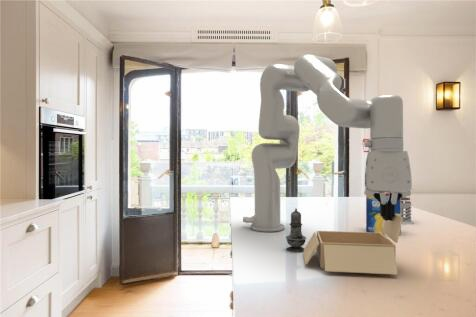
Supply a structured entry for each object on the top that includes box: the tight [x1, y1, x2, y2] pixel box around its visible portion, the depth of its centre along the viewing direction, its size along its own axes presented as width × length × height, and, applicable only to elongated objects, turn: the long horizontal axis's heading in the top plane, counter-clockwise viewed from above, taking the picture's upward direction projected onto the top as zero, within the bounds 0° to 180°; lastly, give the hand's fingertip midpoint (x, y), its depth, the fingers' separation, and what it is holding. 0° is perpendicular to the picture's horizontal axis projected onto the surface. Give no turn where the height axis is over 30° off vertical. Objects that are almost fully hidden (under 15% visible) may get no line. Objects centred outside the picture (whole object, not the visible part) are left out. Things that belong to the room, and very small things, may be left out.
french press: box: [401, 187, 415, 225], centre depth 138 cm, size 10×12×25 cm
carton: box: [303, 230, 398, 276], centre depth 87 cm, size 20×20×6 cm
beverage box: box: [365, 191, 402, 237], centre depth 120 cm, size 7×11×22 cm, turn 62°
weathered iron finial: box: [285, 208, 307, 253], centre depth 98 cm, size 6×6×12 cm
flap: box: [382, 214, 403, 244], centre depth 85 cm, size 1×11×6 cm, turn 171°
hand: (387, 219), depth 85 cm, fingers closed
